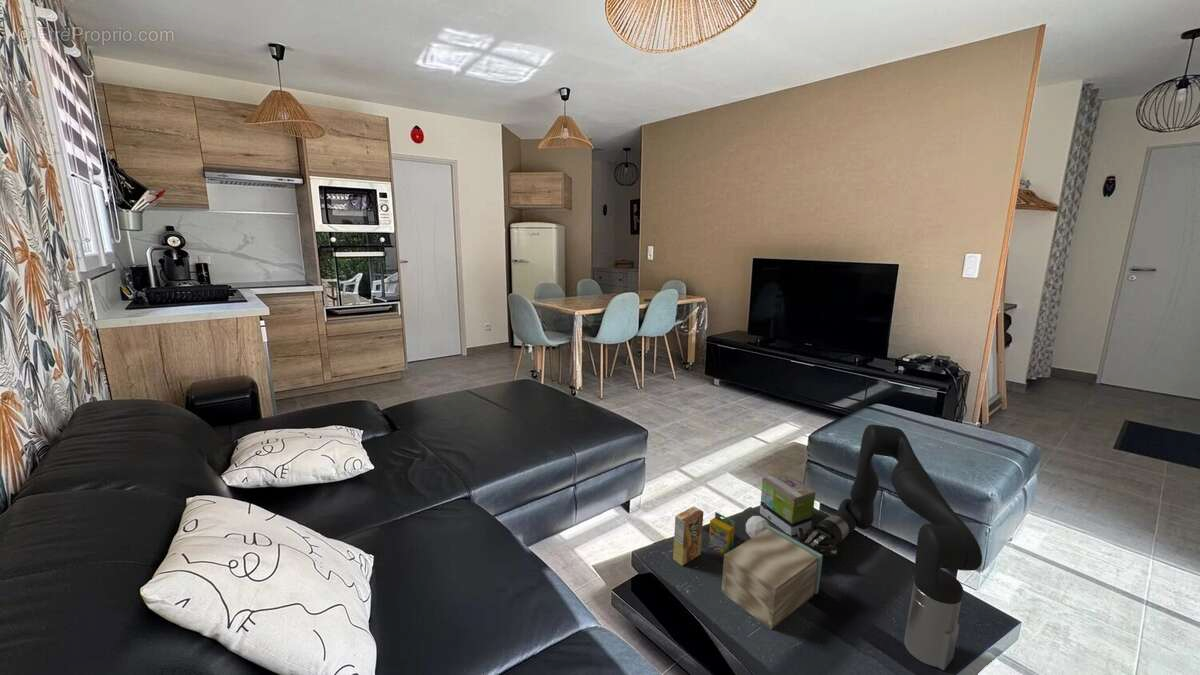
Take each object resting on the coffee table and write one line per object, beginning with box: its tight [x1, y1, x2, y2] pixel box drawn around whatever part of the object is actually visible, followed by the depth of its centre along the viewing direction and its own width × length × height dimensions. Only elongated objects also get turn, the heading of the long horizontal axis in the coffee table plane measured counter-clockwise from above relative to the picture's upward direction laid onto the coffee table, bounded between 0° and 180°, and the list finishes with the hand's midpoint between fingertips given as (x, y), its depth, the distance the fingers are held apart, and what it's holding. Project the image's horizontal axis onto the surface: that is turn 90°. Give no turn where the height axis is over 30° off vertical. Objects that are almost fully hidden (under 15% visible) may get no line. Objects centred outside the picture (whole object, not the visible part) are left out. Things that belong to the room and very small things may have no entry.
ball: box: [745, 515, 771, 539], centre depth 156 cm, size 8×8×8 cm
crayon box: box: [708, 511, 736, 556], centre depth 149 cm, size 7×3×12 cm, turn 43°
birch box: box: [721, 529, 818, 630], centre depth 131 cm, size 16×20×12 cm
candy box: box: [672, 505, 704, 566], centre depth 145 cm, size 9×4×15 cm, turn 129°
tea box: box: [759, 472, 816, 537], centre depth 164 cm, size 15×10×15 cm
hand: (801, 552), depth 141 cm, fingers closed
